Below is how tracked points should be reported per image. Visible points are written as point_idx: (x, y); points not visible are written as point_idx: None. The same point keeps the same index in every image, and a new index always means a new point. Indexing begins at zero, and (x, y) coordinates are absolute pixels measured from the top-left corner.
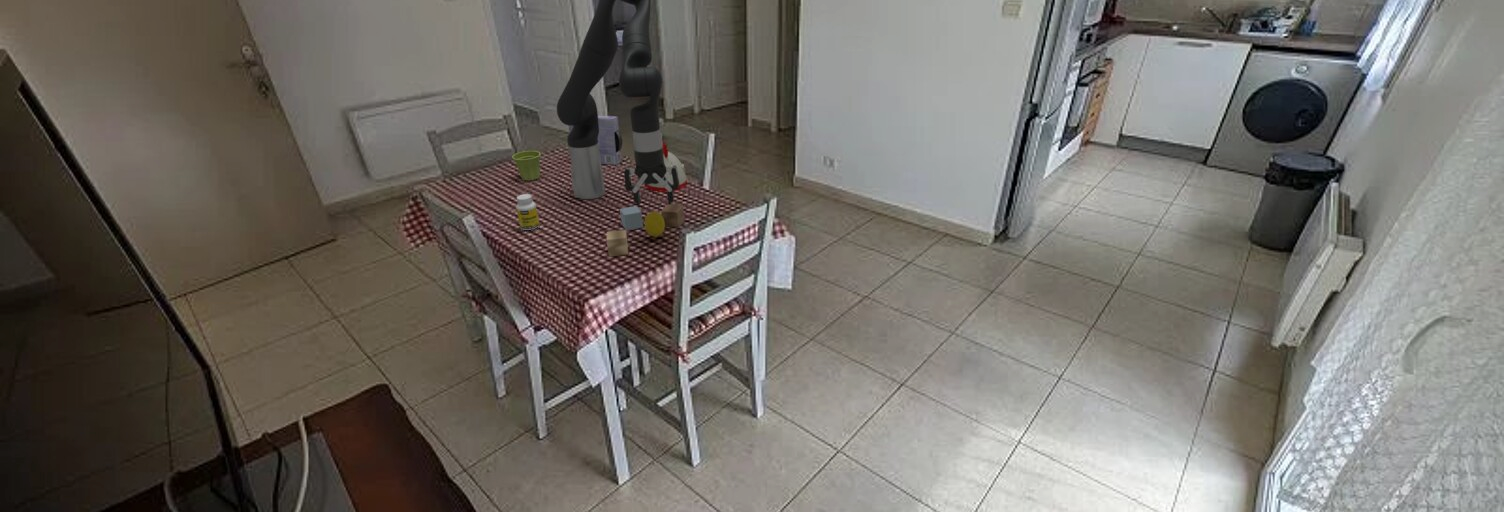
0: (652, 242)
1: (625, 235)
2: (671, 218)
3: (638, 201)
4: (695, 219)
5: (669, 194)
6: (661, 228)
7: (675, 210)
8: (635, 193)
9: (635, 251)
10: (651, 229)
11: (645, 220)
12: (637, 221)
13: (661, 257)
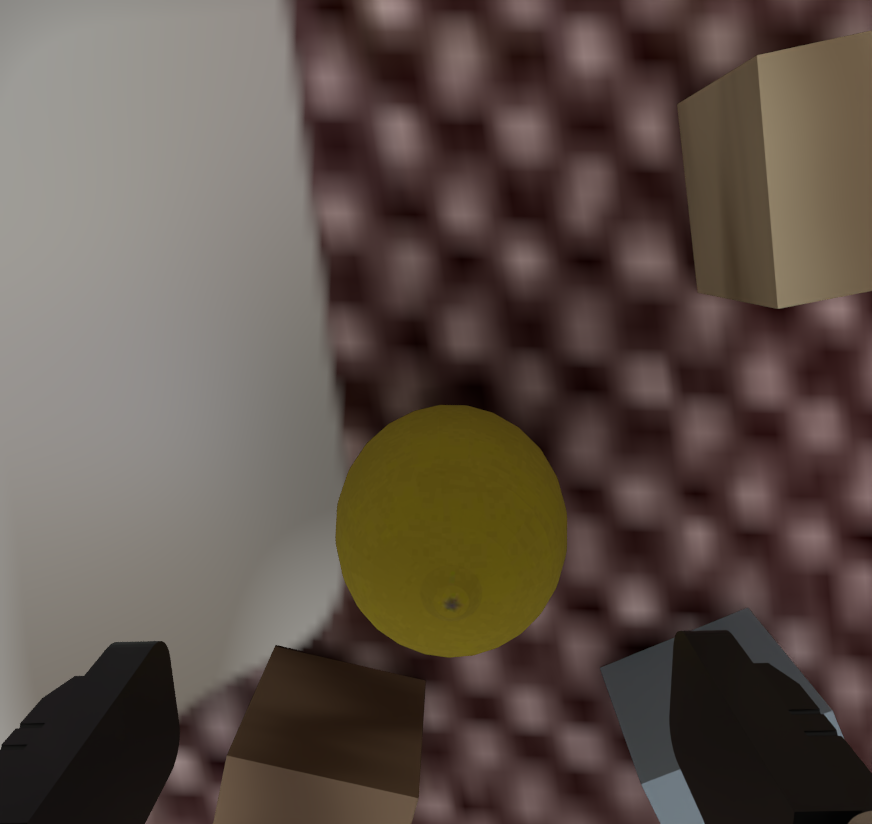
0: (468, 366)
1: (769, 138)
2: (318, 718)
3: (715, 667)
4: (159, 797)
5: (11, 776)
6: (364, 447)
7: (259, 805)
8: (855, 803)
9: (609, 173)
10: (471, 410)
11: (554, 505)
12: (662, 694)
13: (325, 31)
